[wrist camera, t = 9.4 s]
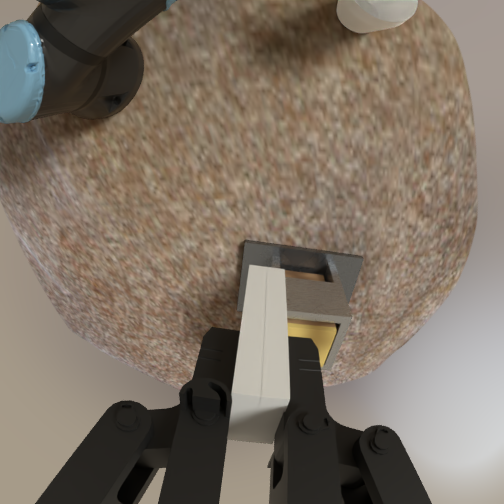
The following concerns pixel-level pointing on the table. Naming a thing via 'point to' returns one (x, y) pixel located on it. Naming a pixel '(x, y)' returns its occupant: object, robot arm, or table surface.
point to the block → (312, 323)
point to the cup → (374, 14)
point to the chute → (309, 284)
